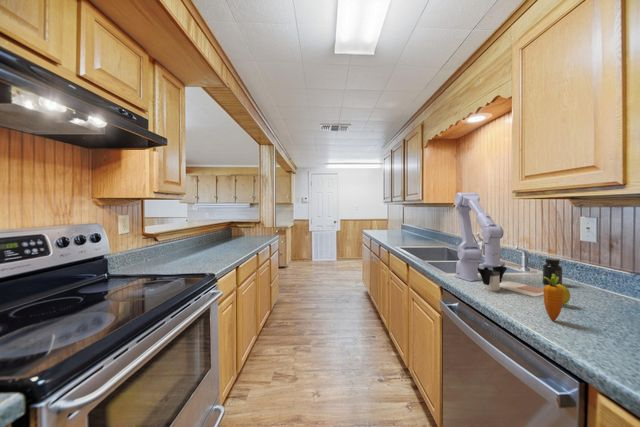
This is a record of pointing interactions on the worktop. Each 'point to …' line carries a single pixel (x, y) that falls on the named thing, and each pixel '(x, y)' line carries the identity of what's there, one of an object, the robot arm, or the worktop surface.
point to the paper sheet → (522, 288)
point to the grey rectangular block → (494, 281)
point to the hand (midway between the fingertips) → (492, 283)
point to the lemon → (565, 293)
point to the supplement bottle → (552, 270)
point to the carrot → (553, 297)
